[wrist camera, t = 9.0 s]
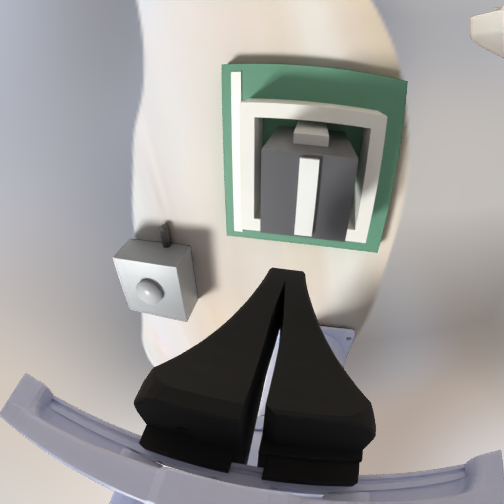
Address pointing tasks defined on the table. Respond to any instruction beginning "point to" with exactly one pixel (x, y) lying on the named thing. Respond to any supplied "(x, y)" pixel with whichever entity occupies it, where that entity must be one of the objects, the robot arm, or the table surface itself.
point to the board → (316, 110)
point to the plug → (307, 182)
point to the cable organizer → (489, 30)
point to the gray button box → (158, 277)
